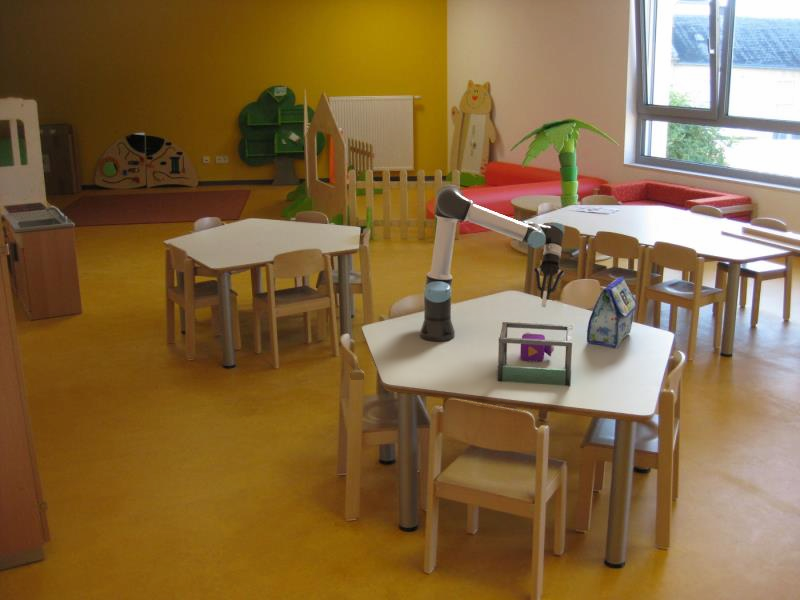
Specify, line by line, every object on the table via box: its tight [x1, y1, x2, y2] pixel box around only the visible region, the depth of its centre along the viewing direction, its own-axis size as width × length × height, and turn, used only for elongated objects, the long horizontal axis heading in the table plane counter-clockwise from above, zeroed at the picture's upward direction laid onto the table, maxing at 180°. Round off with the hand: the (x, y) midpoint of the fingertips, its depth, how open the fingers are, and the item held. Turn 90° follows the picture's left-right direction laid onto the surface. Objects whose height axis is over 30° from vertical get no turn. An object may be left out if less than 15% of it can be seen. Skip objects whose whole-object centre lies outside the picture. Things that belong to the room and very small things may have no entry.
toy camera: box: [519, 332, 555, 362], centre depth 349 cm, size 11×14×10 cm
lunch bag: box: [586, 276, 638, 349], centre depth 368 cm, size 22×17×26 cm
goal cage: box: [496, 321, 573, 387], centre depth 332 cm, size 28×21×17 cm
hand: (543, 305), depth 365 cm, fingers closed
